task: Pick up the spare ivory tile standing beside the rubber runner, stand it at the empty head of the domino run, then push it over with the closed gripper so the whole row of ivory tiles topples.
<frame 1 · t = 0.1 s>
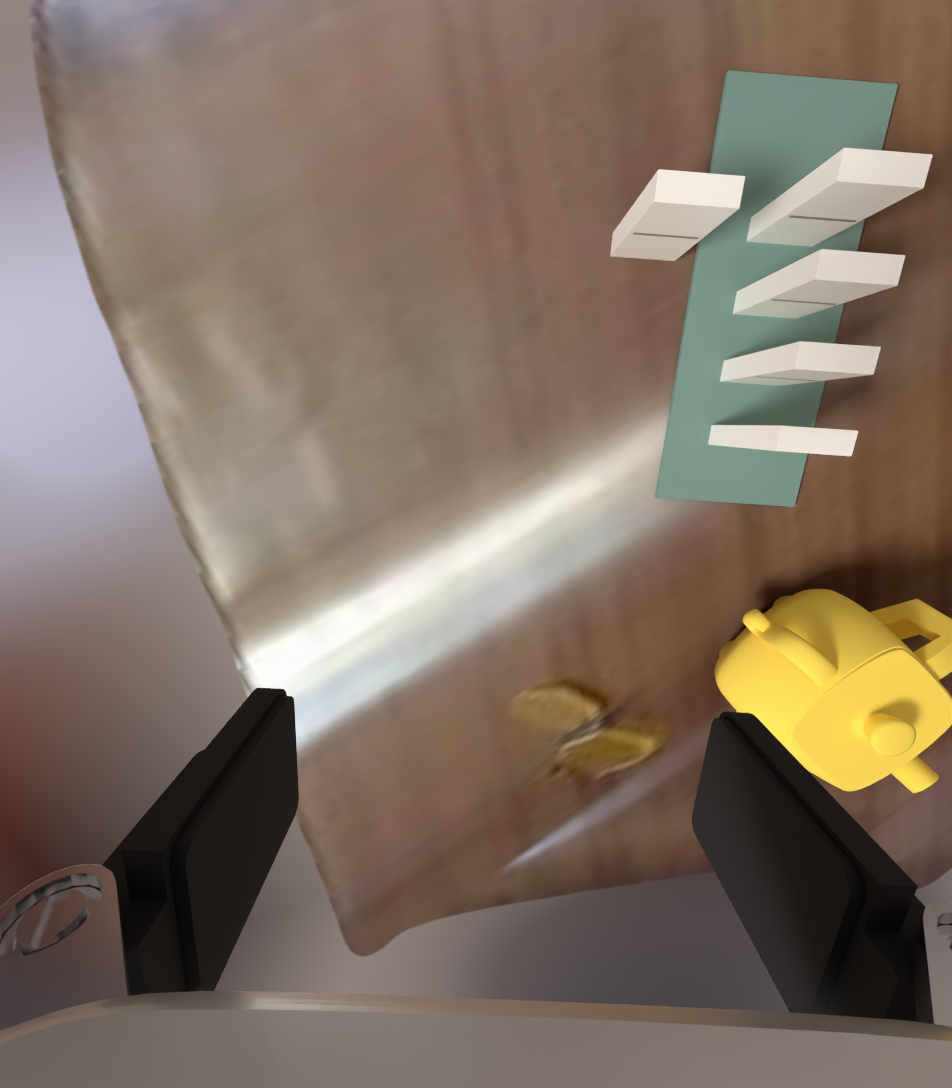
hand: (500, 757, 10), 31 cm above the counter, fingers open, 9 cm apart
runner mat: (762, 313, 36), on the counter
teapot: (783, 661, 44), on the counter
domino 5: (739, 436, 38), resting on runner mat
domino 4: (752, 373, 37), resting on runner mat
domino 2: (781, 232, 35), resting on runner mat
domino 3: (766, 305, 36), resting on runner mat
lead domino: (644, 246, 35), on the counter
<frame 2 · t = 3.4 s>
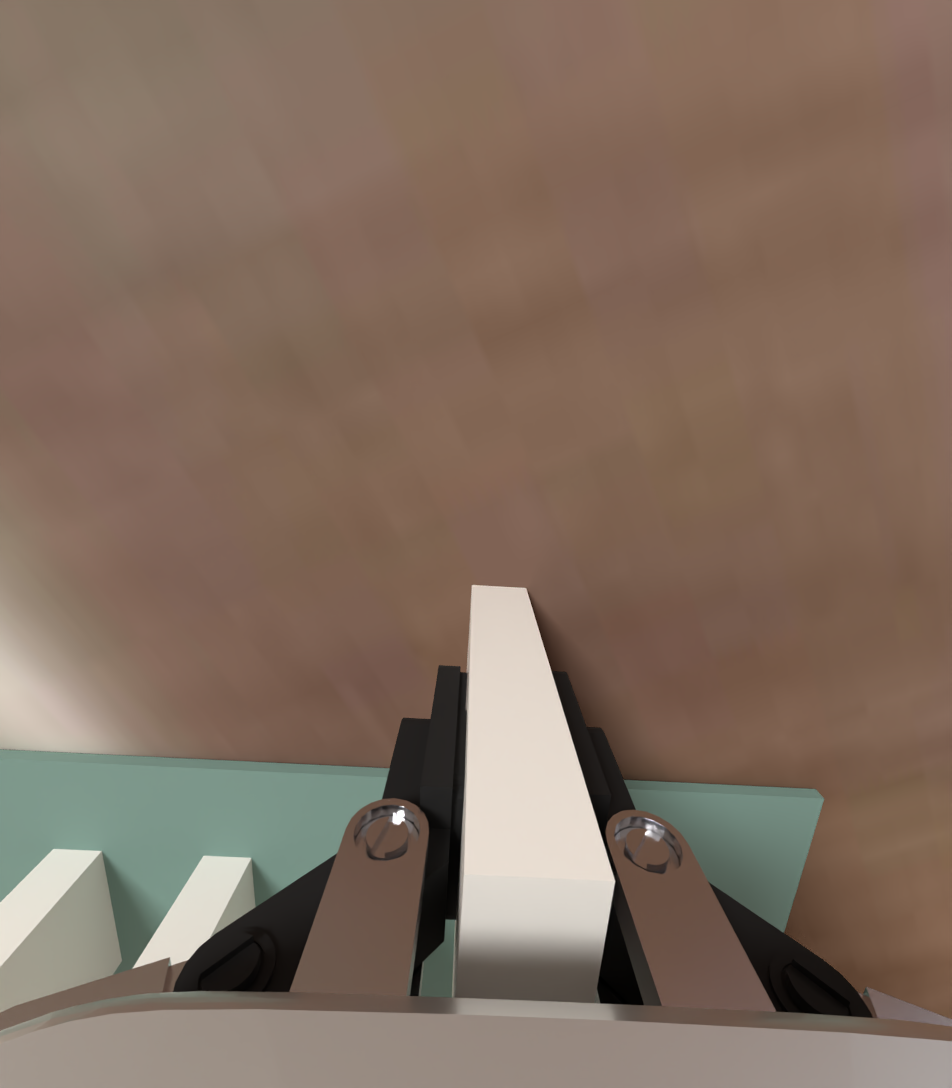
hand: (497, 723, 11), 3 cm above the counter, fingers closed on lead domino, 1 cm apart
runner mat: (364, 907, 17), on the counter
domino 5: (89, 907, 16), resting on runner mat
domino 4: (233, 913, 16), resting on runner mat
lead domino: (493, 663, 14), on the counter, touching gripper
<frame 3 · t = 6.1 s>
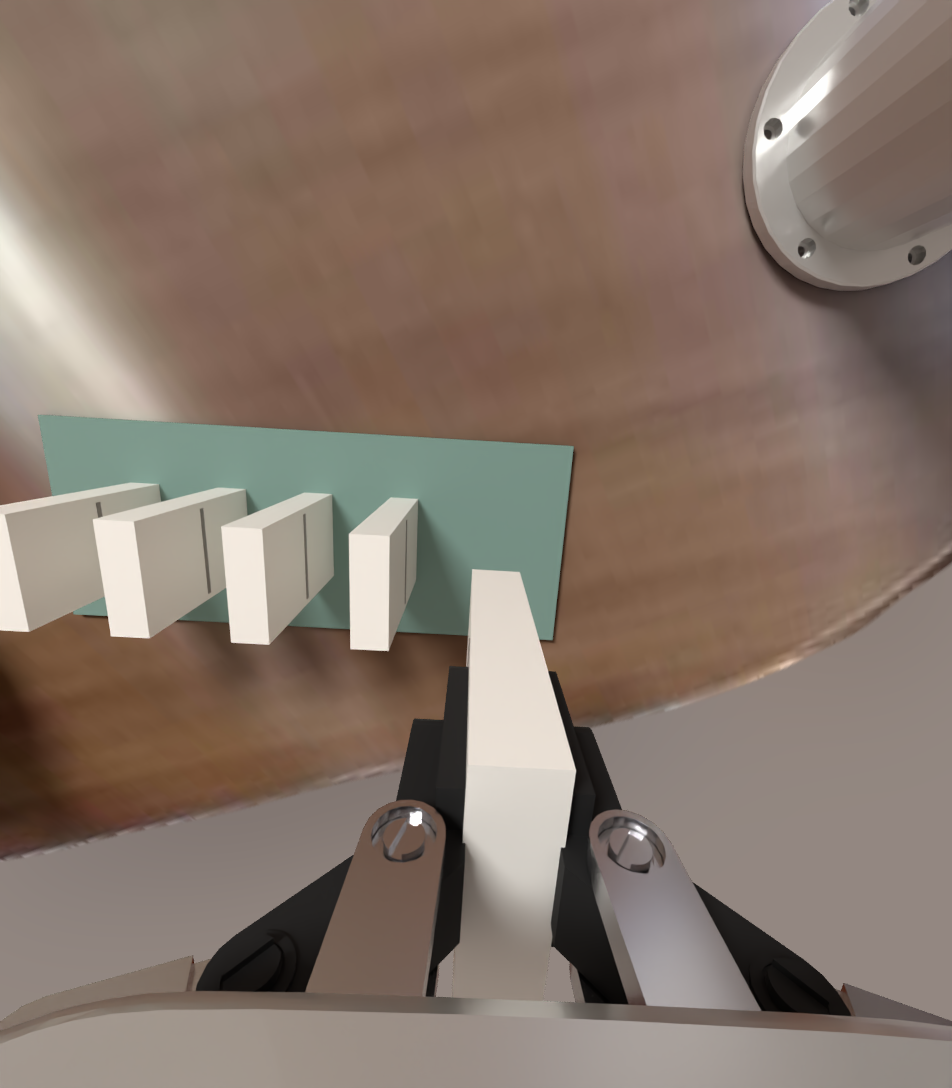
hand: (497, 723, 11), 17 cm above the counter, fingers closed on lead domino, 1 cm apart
runner mat: (313, 532, 28), on the counter
domino 5: (150, 525, 27), resting on runner mat
domino 4: (235, 530, 27), resting on runner mat
domino 2: (403, 539, 27), resting on runner mat
domino 3: (319, 535, 27), resting on runner mat
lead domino: (490, 638, 16), point 12 cm above the counter, touching gripper
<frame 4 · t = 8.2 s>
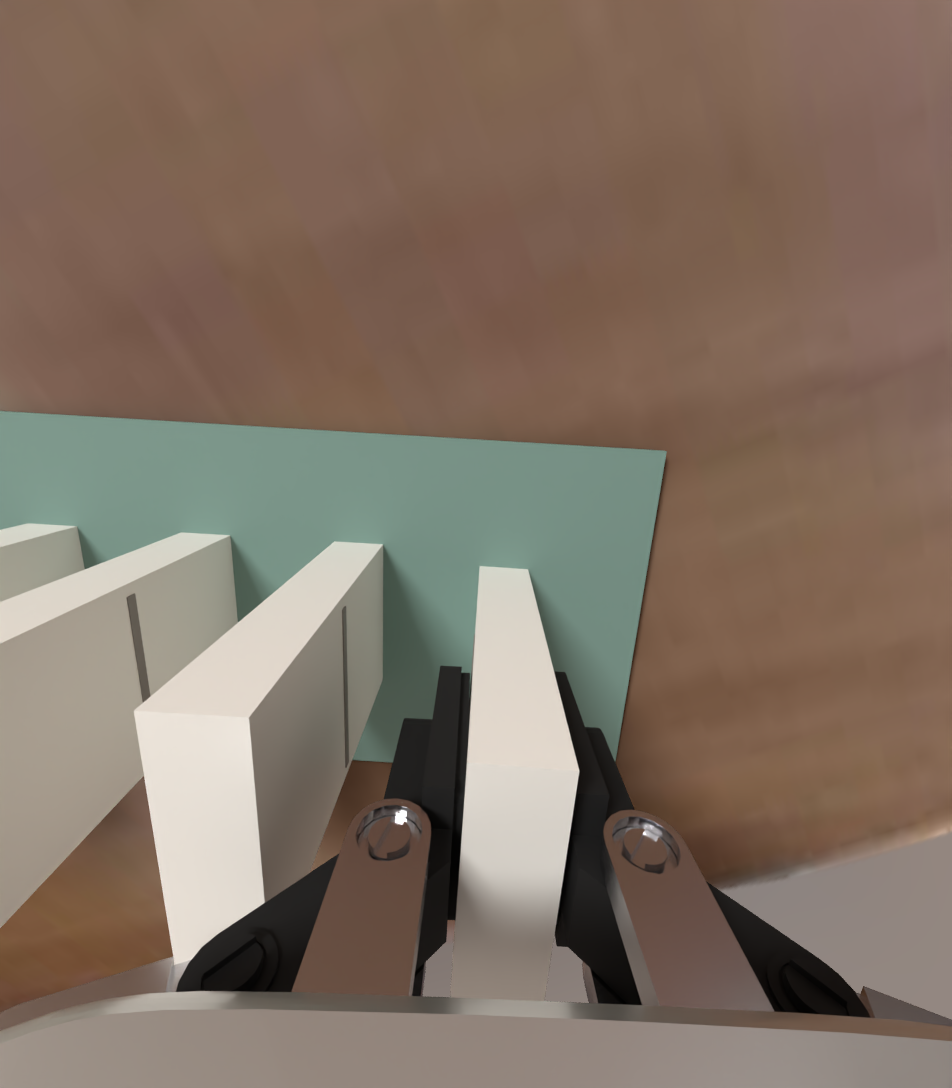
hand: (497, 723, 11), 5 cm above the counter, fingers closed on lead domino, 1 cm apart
runner mat: (205, 599, 16), on the counter
domino 4: (66, 596, 16), resting on runner mat
domino 2: (359, 613, 16), resting on runner mat
domino 3: (213, 604, 16), resting on runner mat
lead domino: (497, 636, 16), resting on runner mat, touching gripper
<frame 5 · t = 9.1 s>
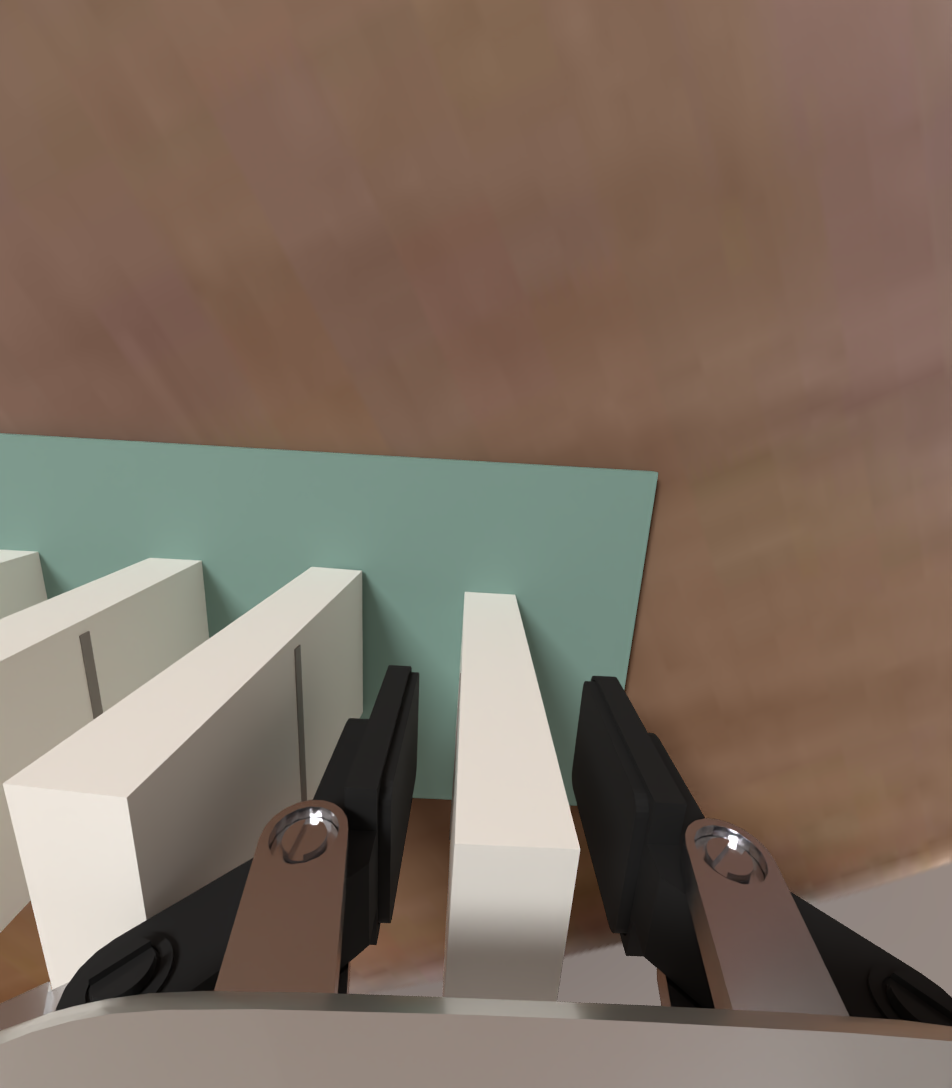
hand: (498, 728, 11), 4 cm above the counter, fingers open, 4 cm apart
runner mat: (176, 627, 15), on the counter
domino 4: (27, 624, 15), resting on runner mat
domino 2: (338, 642, 15), resting on runner mat, touching gripper
domino 3: (183, 633, 15), resting on runner mat
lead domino: (484, 664, 15), resting on runner mat
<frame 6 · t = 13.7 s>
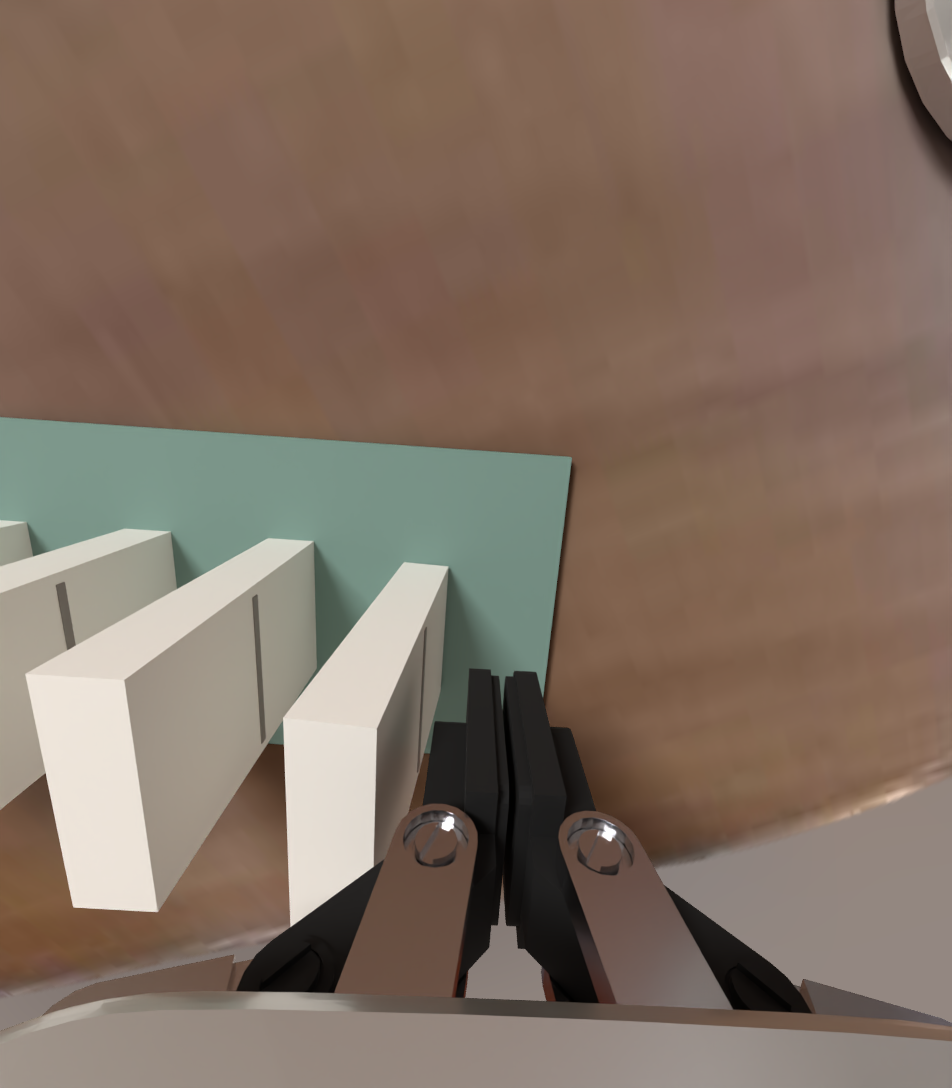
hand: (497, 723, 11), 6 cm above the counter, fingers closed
runner mat: (149, 591, 17), on the counter
domino 4: (17, 587, 17), resting on runner mat
domino 2: (293, 605, 17), resting on runner mat
domino 3: (155, 596, 17), resting on runner mat
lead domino: (422, 628, 17), resting on runner mat
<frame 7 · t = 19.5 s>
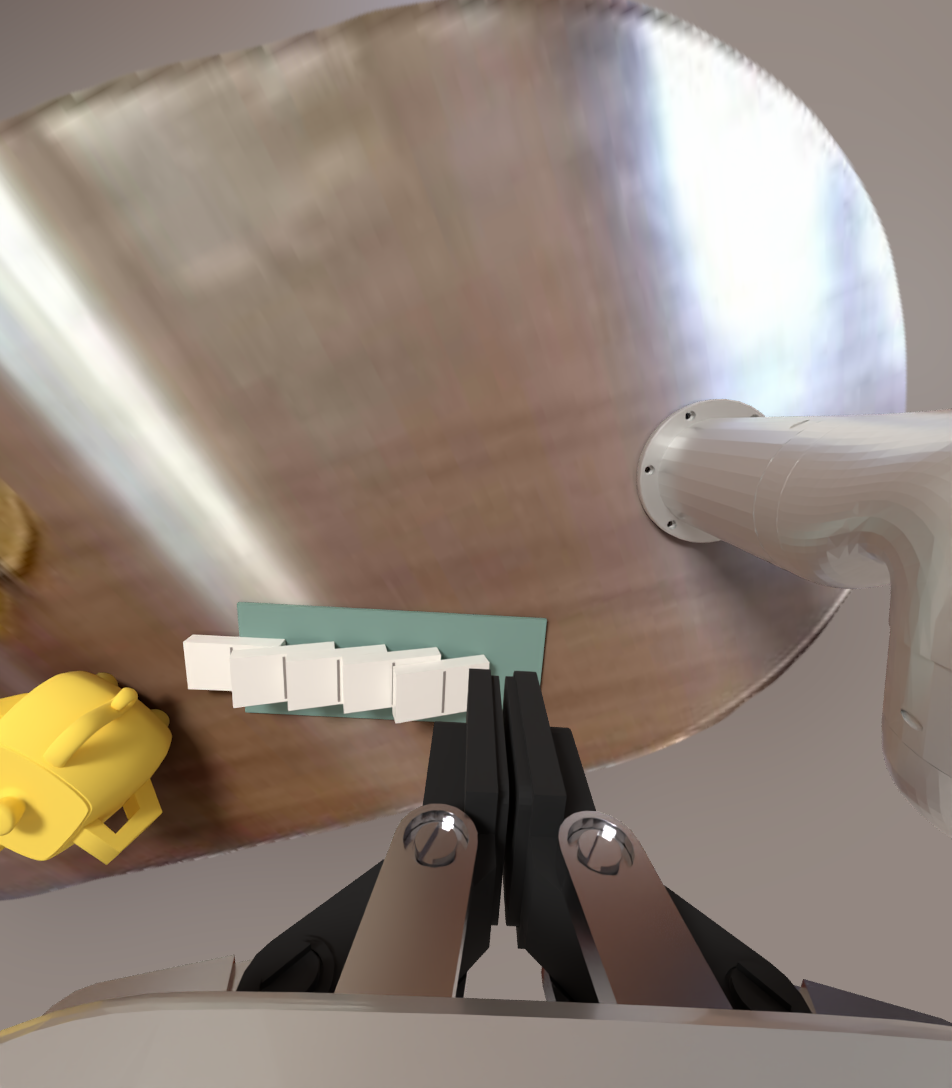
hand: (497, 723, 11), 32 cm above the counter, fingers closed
runner mat: (392, 665, 47), on the counter
teapot: (107, 726, 49), on the counter
domino 5: (283, 666, 45), point 1 cm above the counter, tilted 90°, touching domino 4, runner mat
domino 4: (334, 668, 45), point 1 cm above the counter, tilted 71°, touching domino 3, domino 5, runner mat
domino 2: (437, 673, 46), point 1 cm above the counter, tilted 72°, touching domino 3, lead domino, runner mat
domino 3: (385, 671, 45), point 1 cm above the counter, tilted 71°, touching domino 2, domino 4, runner mat
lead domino: (484, 681, 46), point 1 cm above the counter, tilted 70°, touching domino 2, runner mat
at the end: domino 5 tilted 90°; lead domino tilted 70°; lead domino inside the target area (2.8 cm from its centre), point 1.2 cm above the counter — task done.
